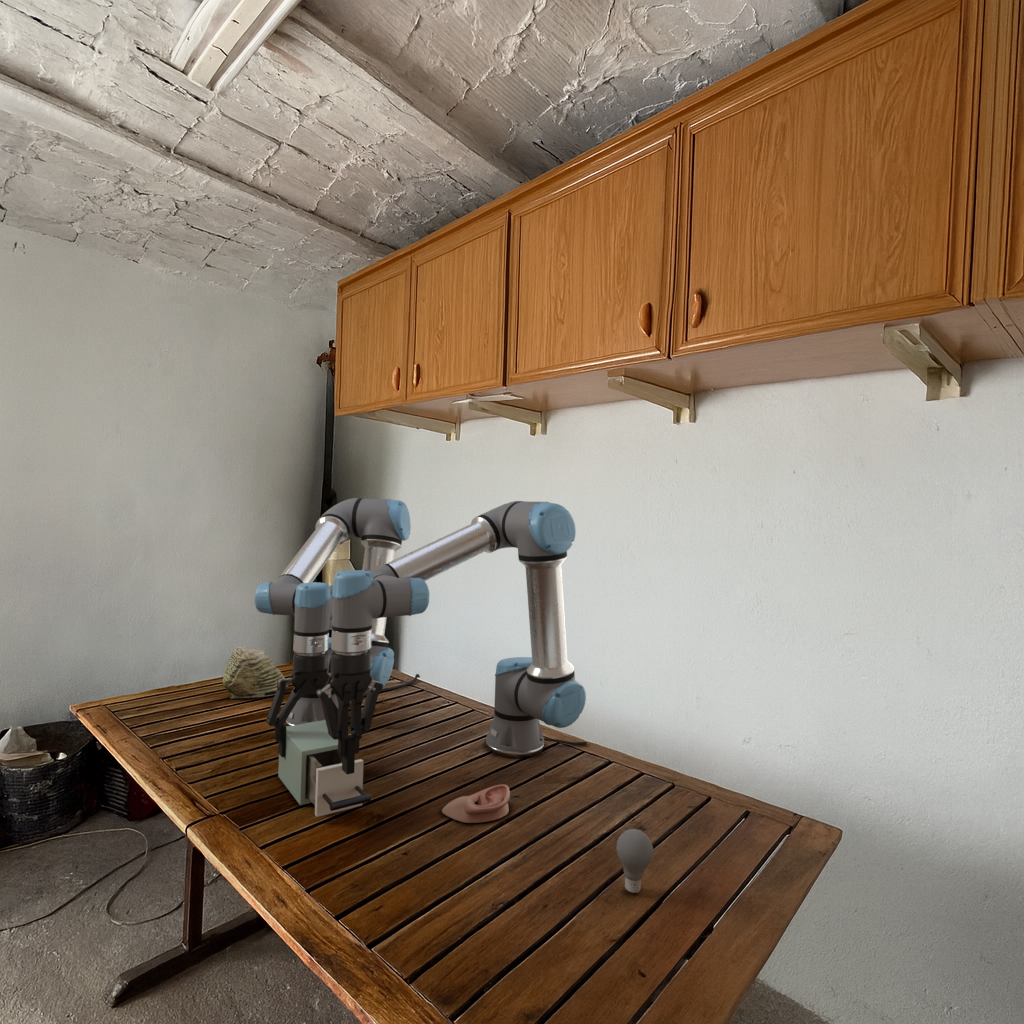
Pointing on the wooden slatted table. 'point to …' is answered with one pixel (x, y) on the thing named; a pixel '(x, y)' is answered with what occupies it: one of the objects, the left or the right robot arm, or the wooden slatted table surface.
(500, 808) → the anatomical model
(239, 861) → the wooden slatted table surface
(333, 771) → the drawer
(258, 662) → the fossil
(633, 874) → the light bulb
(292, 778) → the cabinet
